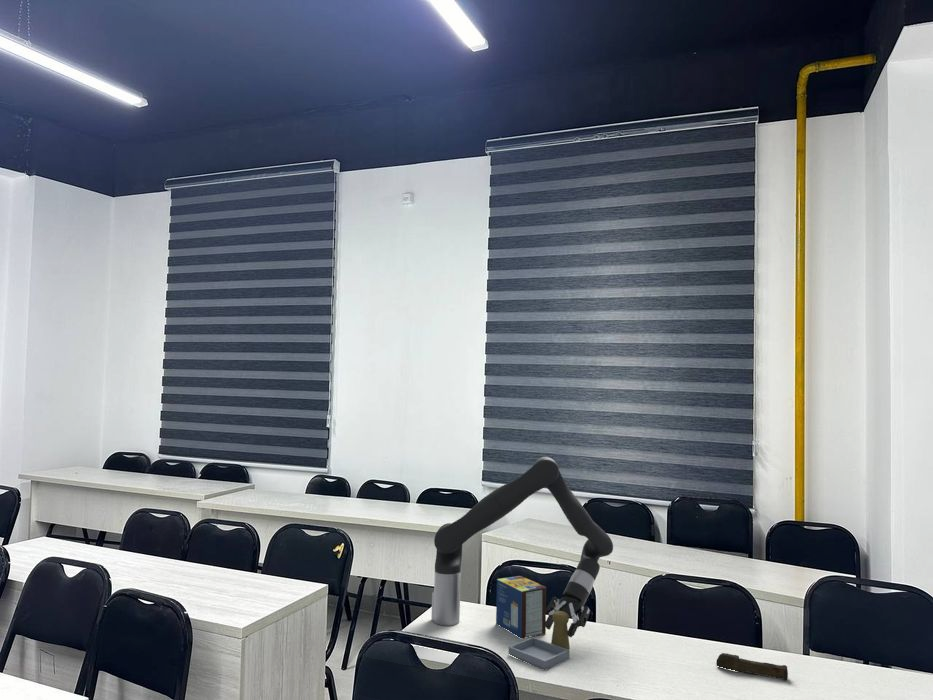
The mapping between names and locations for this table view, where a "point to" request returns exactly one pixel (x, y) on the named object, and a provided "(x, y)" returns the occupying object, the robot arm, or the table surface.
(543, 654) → the tray
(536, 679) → the table surface
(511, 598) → the protein box
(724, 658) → the hand tool
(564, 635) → the cork
